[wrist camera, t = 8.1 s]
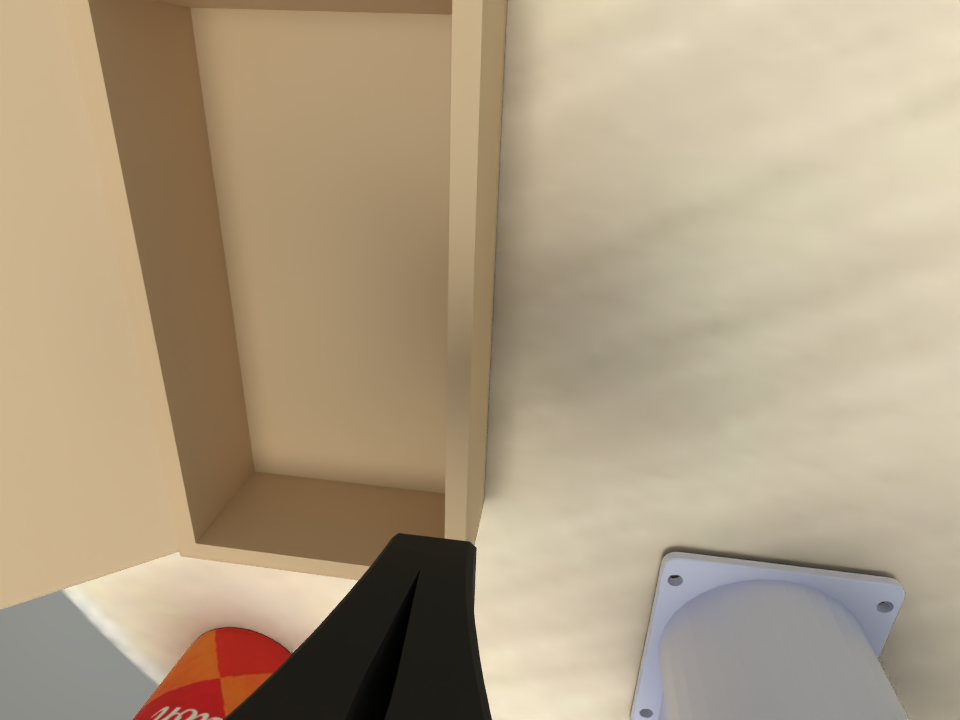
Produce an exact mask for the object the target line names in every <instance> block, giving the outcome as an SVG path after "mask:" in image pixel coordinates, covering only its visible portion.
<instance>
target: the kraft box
mask: <svg viewBox="0 0 960 720" xmlns="http://www.w3.org/2000/svg"><path fill="white" fill-rule="evenodd" d="M62 2H63V7H64V11H65V16H66V21H67V25H68V30H69V35H70V39H71V44H72V49H73V54H74V58H75V63H76V68H77V72H78V77H79V82H80V86H81V91H82V96H83V100H84V105H85V110H86V115H87V119H88V124H89V129H90V133H91V138H92V143H93V147H94V152H95V157H96V161H97V166H98V171H99V176H100V180H101V185H102V190H103V194H104V199H105V204H106V208H107V213H108V218H109V222H110V227H111V232H112V236H113V241H114V246H115V251H116V255H117V260H118V265H119V269H120V274H121V279H122V283H123V288H124V293H125V297H126V302H127V307H128V312H129V316H130V321H131V326H132V330H133V335H134V340H135V344H136V349H137V354H138V358H139V363H140V368H141V373H142V377H143V382H144V387H145V391H146V396H147V401H148V405H149V410H150V415H151V419H152V424H153V429H154V434H155V438H156V443H157V448H158V452H159V457H160V462H161V466H162V471H163V476H164V480H165V485H166V490H167V495H168V499H169V504H170V509H171V513H172V518H173V523H174V527H175V532H176V537H177V541H178V546H179V551H180V556H183V557H190V558H198V559H205V560H212V561H220V562H227V563H235V564H242V565H250V566H257V567H264V568H272V569H279V570H287V571H294V572H302V573H309V574H317V575H324V576H331V577H339V578H346V579H354V580H360V578H361V577H362V576H363V575H364V573H365V572H366V571H367V570H368V569H369V567H370V566H371V565H372V563H373V562H374V561H375V560H376V558H377V557H378V556H379V554H380V553H381V552H382V551H383V549H384V548H385V547H386V545H387V544H388V542H389V541H390V540H391V538H392V537H394V536H395V535H396V534H398V533H403V534H411V535H420V536H428V537H436V538H445V539H453V540H462V541H470V542H471V543H472V544H473V545H475V541H476V536H477V531H478V527H479V522H480V518H481V513H482V509H483V504H484V492H485V471H486V449H487V427H488V406H489V384H490V363H491V341H492V319H493V298H494V276H495V255H496V233H497V211H498V190H499V168H500V147H501V125H502V104H503V82H504V60H505V39H506V17H507V0H62Z"/></svg>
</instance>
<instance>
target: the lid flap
mask: <svg viewBox="0 0 960 720" xmlns="http://www.w3.org/2000/svg"><path fill="white" fill-rule="evenodd" d="M176 552H179V546H178V541H177V537H176V532H175V527H174V523H173V518H172V513H171V509H170V504H169V499H168V495H167V490H166V485H165V480H164V476H163V471H162V466H161V462H160V457H159V452H158V448H157V443H156V438H155V434H154V429H153V424H152V419H151V415H150V410H149V405H148V401H147V396H146V391H145V387H144V382H143V377H142V373H141V368H140V363H139V358H138V354H137V349H136V344H135V340H134V335H133V330H132V326H131V321H130V316H129V312H128V307H127V302H126V297H125V293H124V288H123V283H122V279H121V274H120V269H119V265H118V260H117V255H116V251H115V246H114V241H113V236H112V232H111V227H110V222H109V218H108V213H107V208H106V204H105V199H104V194H103V190H102V185H101V180H100V176H99V171H98V166H97V161H96V157H95V152H94V147H93V143H92V138H91V133H90V129H89V124H88V119H87V115H86V110H85V105H84V100H83V96H82V91H81V86H80V82H79V77H78V72H77V68H76V63H75V58H74V54H73V49H72V44H71V39H70V35H69V30H68V25H67V21H66V16H65V11H64V7H63V2H62V0H0V610H1V609H4V608H7V607H10V606H13V605H16V604H19V603H22V602H25V601H28V600H31V599H35V598H37V597H40V596H44V595H47V594H50V593H53V592H56V591H59V590H62V589H65V588H68V587H71V586H74V585H78V584H81V583H84V582H87V581H90V580H93V579H96V578H99V577H102V576H105V575H108V574H111V573H114V572H117V571H121V570H124V569H127V568H130V567H133V566H136V565H139V564H142V563H145V562H148V561H151V560H154V559H157V558H160V557H163V556H167V555H170V554H173V553H176Z"/></svg>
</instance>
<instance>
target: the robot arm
mask: <svg viewBox="0 0 960 720" xmlns="http://www.w3.org/2000/svg"><path fill="white" fill-rule="evenodd" d="M475 572H476V547H475V546H474V545H473V544H472V543H471V542H470V541H462V540H453V539H445V538H436V537H428V536H420V535H411V534H403V533H398V534H396V535H395V536H394V537H392V538H391V540H390V541H389V542H388V544H387V545H386V547H385V548H384V549H383V551H382V552H381V553H380V554H379V556H378V557H377V558H376V560H375V561H374V562H373V563H372V565H371V566H370V567H369V569H368V570H367V571H366V572H365V573H364V575H363V576H362V577H361V578H360V580H359V581H358V582H357V583H356V584H355V586H354V587H353V588H352V589H351V590H350V592H349V593H348V594H347V595H346V596H345V597H344V598H343V600H342V601H341V602H340V603H339V604H338V605H337V606H336V608H335V609H334V610H333V611H332V612H331V613H330V614H329V615H328V617H327V618H326V619H325V620H324V621H323V622H322V623H321V624H320V626H319V627H318V628H317V629H316V630H315V631H314V632H313V633H312V634H311V635H310V636H309V637H308V638H307V639H306V640H305V641H304V642H303V643H302V644H301V645H300V646H299V648H298V649H297V650H296V651H295V652H294V653H293V654H292V655H291V656H290V657H289V658H288V659H287V660H286V661H285V662H284V663H283V664H282V665H281V666H280V667H279V668H278V669H277V670H276V671H275V672H274V673H273V674H272V675H271V676H270V677H269V678H268V679H267V680H266V681H265V682H264V683H263V684H261V685H260V686H259V687H258V688H257V689H256V690H255V691H254V692H253V693H252V694H251V695H250V696H249V697H248V698H246V699H245V700H244V701H243V702H242V703H241V704H240V705H239V706H238V707H237V708H235V709H234V710H233V711H232V712H231V713H230V714H229V715H227V716H226V717H225V718H224V719H223V720H492V718H491V714H490V709H489V704H488V699H487V694H486V689H485V685H484V680H483V674H482V668H481V662H480V656H479V649H478V641H477V634H476V627H475V618H474V596H475ZM671 575H679V577H677V578H670V576H671ZM904 598H905V591H904V589H903V587H902V586H901V584H900V583H899V582H898V581H897V580H896V579H893V578H890V577H881V576H873V575H865V574H857V573H848V572H840V571H832V570H824V569H816V568H807V567H799V566H791V565H783V564H775V563H766V562H758V561H750V560H742V559H733V558H725V557H717V556H709V555H701V554H692V553H684V552H671V553H668V554H667V555H665V556H664V557H663V559H662V562H661V567H660V572H659V577H658V582H657V587H656V592H655V597H654V602H653V607H652V611H651V616H650V621H649V626H648V631H647V636H646V641H645V646H644V651H643V656H642V661H641V666H640V671H639V676H638V681H637V686H636V690H635V695H634V700H633V705H632V710H631V715H630V720H909V718H908V716H907V714H906V712H905V710H904V708H903V706H902V705H901V703H900V701H899V699H898V697H897V695H896V693H895V691H894V689H893V687H892V685H891V683H890V681H889V680H888V678H887V676H886V674H885V672H884V670H883V668H882V666H881V664H880V662H879V660H878V659H879V656H880V654H881V652H882V649H883V647H884V644H885V642H886V640H887V637H888V635H889V633H890V630H891V628H892V626H893V623H894V621H895V619H896V616H897V614H898V612H899V609H900V607H901V605H902V602H903V600H904ZM885 601H886V602H885ZM881 602H885V603H883V604H879V603H881Z"/></svg>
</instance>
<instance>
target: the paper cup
mask: <svg viewBox="0 0 960 720" xmlns="http://www.w3.org/2000/svg"><path fill="white" fill-rule="evenodd" d="M290 656H291V654H290V653H289V652H288V651H287V650H286V649H285V648H284V647H283V646H281V645H280V644H278V643H277V642H275V641H274V640H272V639H270V638H268V637H266V636H264V635H262V634H259V633H257V632H254V631H250V630H246V629H241V628H219V629H215V630H211V631H209V632H207V633H205V634H203V635H202V636H200V637H199V638H198V639H197V640H196V641H195V642H194V643H193V644H192V646H191V647H190V648H189V649H188V650H187V652H186V653H185V654H184V655H183V656H182V658H181V659H180V660H179V661H178V663H177V664H176V665H175V666H174V668H173V669H172V670H171V671H170V673H169V674H168V675H167V676H166V678H165V679H164V680H163V682H162V683H161V684H160V685H159V687H158V688H157V689H156V691H155V692H154V693H153V694H152V696H151V697H150V698H149V700H148V701H147V702H146V703H145V705H144V706H143V707H142V709H141V710H140V711H139V712H138V714H137V715H136V716H135V718H134V719H133V720H223V719H224V718H225V717H226V716H227V715H229V714H230V713H231V712H232V711H233V710H234V709H235V708H237V707H238V706H239V705H240V704H241V703H242V702H243V701H244V700H245V699H246V698H248V697H249V696H250V695H251V694H252V693H253V692H254V691H255V690H256V689H257V688H258V687H259V686H260V685H261V684H263V683H264V682H265V681H266V680H267V679H268V678H269V677H270V676H271V675H272V674H273V673H274V672H275V671H276V670H277V669H278V668H279V667H280V666H281V665H282V664H283V663H284V662H285V661H286V660H287V659H288V658H289V657H290Z"/></svg>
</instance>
